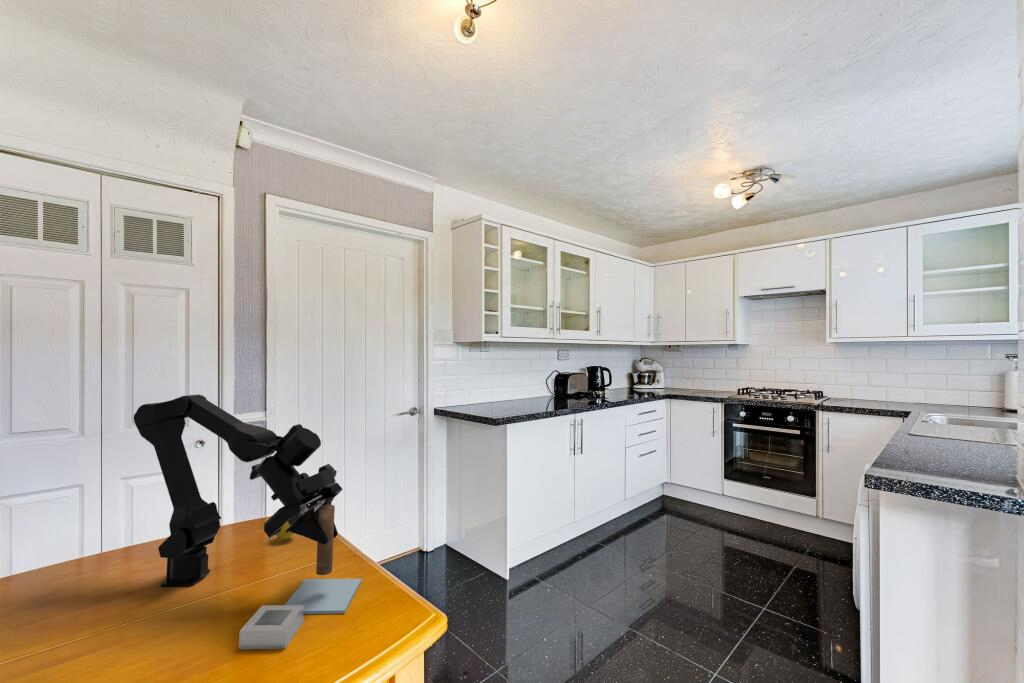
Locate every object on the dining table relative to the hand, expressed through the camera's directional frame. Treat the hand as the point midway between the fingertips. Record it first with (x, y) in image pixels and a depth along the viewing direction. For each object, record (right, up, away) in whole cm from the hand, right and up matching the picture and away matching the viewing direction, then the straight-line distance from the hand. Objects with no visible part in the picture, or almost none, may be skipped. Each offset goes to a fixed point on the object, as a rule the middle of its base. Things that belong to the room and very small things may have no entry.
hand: (331, 539), depth 91 cm
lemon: (-23, -12, +26) cm, 37 cm away
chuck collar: (-5, -11, -13) cm, 18 cm away
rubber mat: (-2, -12, 0) cm, 12 cm away
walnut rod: (-2, -7, 0) cm, 7 cm away
